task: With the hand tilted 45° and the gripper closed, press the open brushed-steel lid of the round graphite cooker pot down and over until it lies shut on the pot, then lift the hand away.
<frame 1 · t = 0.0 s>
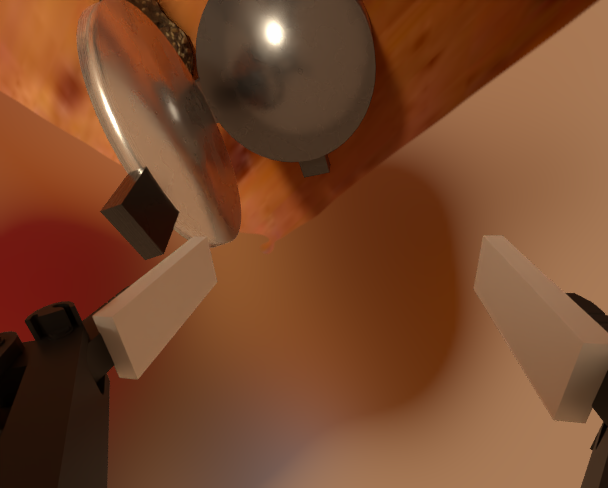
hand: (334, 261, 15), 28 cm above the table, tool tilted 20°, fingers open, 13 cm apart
cooker pot: (298, 56, 33), on the table
bread roll: (147, 56, 36), on the table
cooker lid: (180, 147, 21), point 19 cm above the table, hinge at 75.0°
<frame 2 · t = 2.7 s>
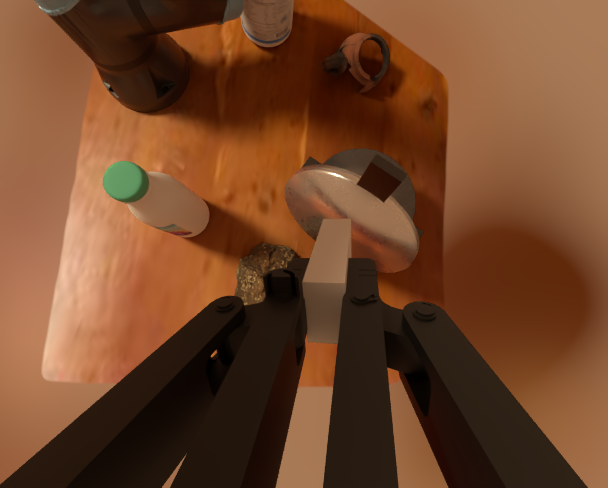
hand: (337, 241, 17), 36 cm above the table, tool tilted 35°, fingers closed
cooker pot: (351, 213, 54), on the table
supplement tub: (267, 27, 57), on the table
bread roll: (270, 279, 53), on the table
milk bottle: (189, 216, 53), on the table
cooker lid: (351, 218, 34), point 19 cm above the table, hinge at 75.0°
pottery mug: (350, 74, 57), on the table
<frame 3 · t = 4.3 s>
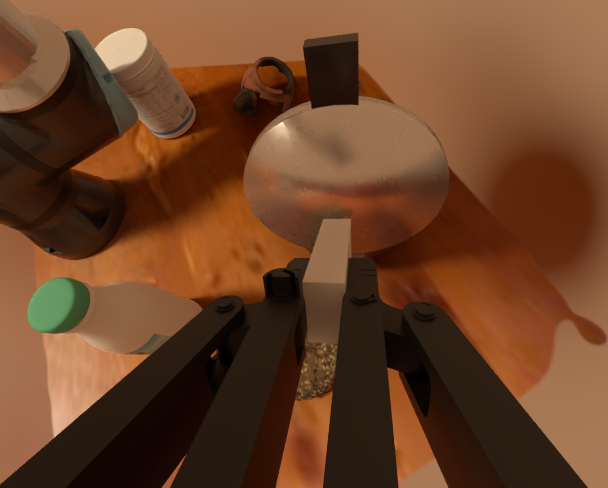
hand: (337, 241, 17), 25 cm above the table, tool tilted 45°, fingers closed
supplement tub: (175, 121, 58), on the table
bread roll: (308, 339, 40), on the table
milk bottle: (183, 326, 43), on the table
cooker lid: (340, 179, 25), point 19 cm above the table, hinge at 75.0°
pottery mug: (266, 106, 55), on the table
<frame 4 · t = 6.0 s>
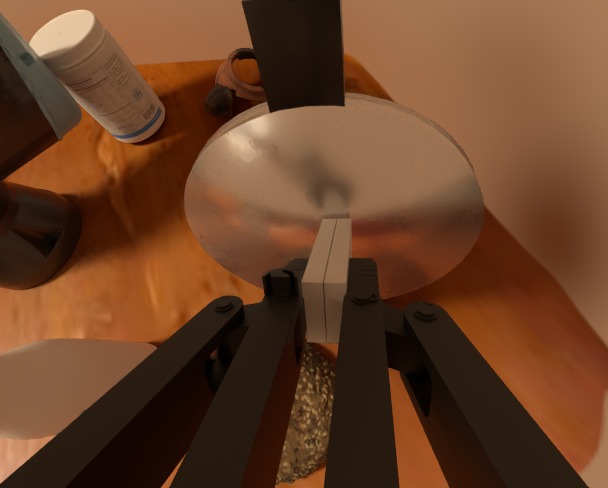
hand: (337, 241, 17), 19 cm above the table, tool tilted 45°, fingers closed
supplement tub: (142, 124, 50), on the table, touching arm
bread roll: (290, 399, 32), on the table
milk bottle: (141, 377, 36), on the table
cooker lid: (323, 214, 17), point 19 cm above the table, hinge at 73.2°, touching gripper
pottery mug: (245, 106, 48), on the table
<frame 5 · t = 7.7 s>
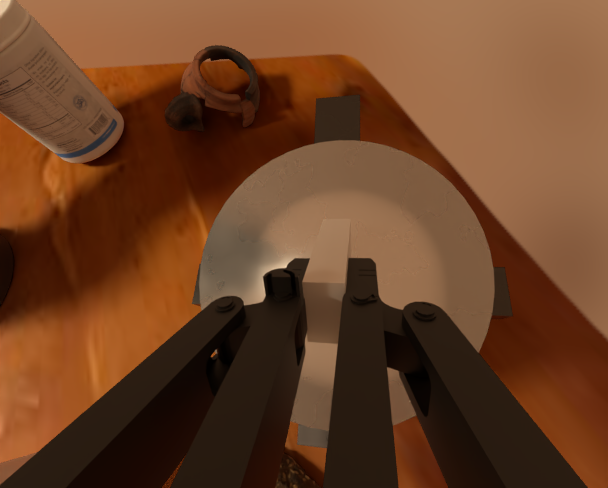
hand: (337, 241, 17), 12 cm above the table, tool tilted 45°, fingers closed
cooker pot: (343, 305, 28), on the table
supplement tub: (97, 140, 41), on the table, touching arm
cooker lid: (335, 241, 19), point 11 cm above the table, hinge at 5.4°
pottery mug: (221, 117, 39), on the table
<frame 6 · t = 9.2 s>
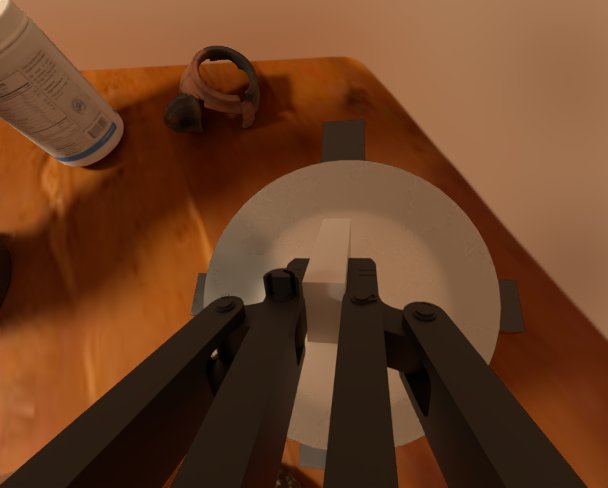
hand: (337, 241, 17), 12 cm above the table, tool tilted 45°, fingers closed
cooker pot: (346, 315, 27), on the table
supplement tub: (96, 143, 40), on the table, touching arm
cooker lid: (340, 256, 19), point 10 cm above the table, hinge at -0.1°
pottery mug: (221, 119, 38), on the table
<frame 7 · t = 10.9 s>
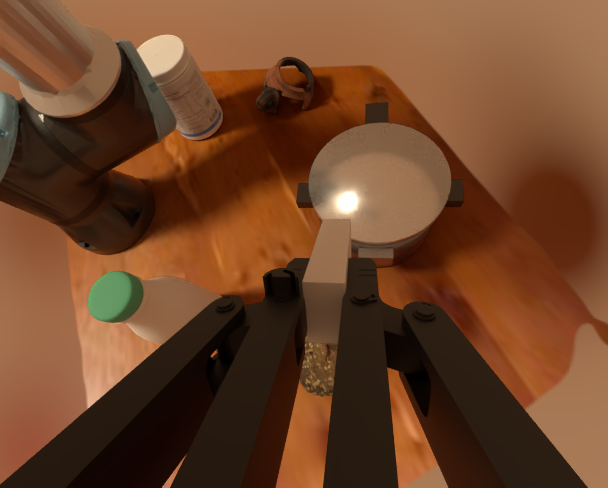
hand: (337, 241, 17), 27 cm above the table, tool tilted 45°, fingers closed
cooker pot: (373, 218, 46), on the table
supplement tub: (203, 123, 60), on the table
bread roll: (329, 338, 42), on the table
milk bottle: (212, 321, 45), on the table
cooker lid: (376, 168, 38), point 10 cm above the table, hinge at -0.1°
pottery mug: (285, 104, 58), on the table
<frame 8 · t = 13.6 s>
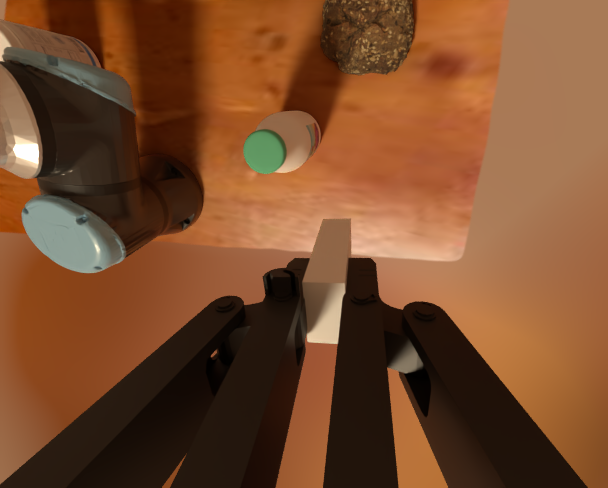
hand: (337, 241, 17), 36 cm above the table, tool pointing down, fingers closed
supplement tub: (81, 70, 52), on the table
bread roll: (365, 27, 43), on the table
milk bottle: (298, 135, 50), on the table
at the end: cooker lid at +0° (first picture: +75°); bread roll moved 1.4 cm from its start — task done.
